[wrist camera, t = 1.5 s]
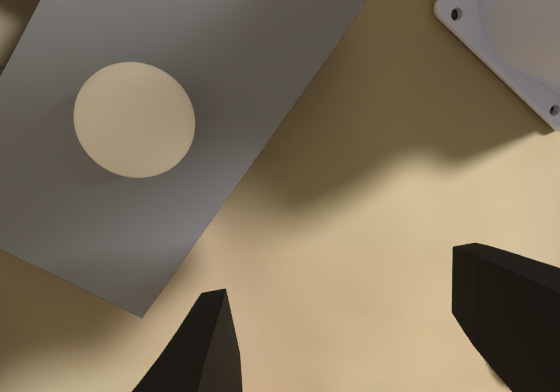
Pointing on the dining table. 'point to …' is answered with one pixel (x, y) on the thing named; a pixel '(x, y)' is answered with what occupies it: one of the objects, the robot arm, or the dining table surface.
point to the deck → (189, 170)
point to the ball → (134, 119)
